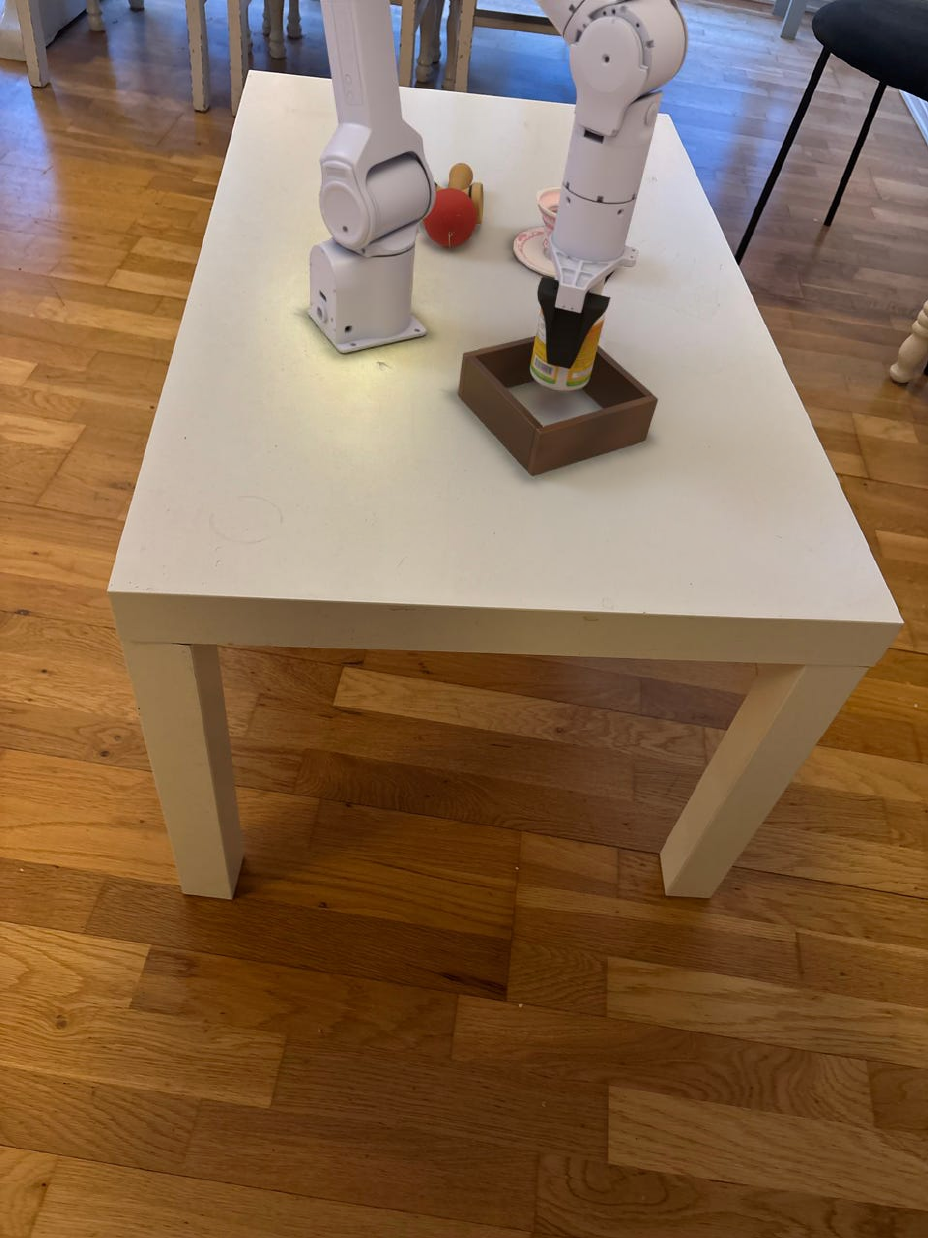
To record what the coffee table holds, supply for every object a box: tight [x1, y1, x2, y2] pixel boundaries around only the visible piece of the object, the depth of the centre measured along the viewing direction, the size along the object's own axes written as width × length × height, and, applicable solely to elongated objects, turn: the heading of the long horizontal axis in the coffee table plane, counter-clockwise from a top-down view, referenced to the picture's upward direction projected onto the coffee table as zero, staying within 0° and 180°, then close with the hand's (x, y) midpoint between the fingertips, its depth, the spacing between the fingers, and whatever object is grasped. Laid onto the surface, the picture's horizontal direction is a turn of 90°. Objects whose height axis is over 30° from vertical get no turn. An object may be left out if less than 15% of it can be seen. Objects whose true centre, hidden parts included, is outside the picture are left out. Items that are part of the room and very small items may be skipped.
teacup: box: [512, 186, 562, 279], centre depth 102 cm, size 12×12×6 cm
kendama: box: [421, 162, 485, 248], centre depth 106 cm, size 8×6×18 cm
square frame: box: [457, 335, 659, 476], centre depth 82 cm, size 13×13×4 cm
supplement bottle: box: [530, 274, 607, 392], centre depth 77 cm, size 5×5×10 cm
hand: (565, 346), depth 78 cm, fingers closed on supplement bottle, 5 cm apart
